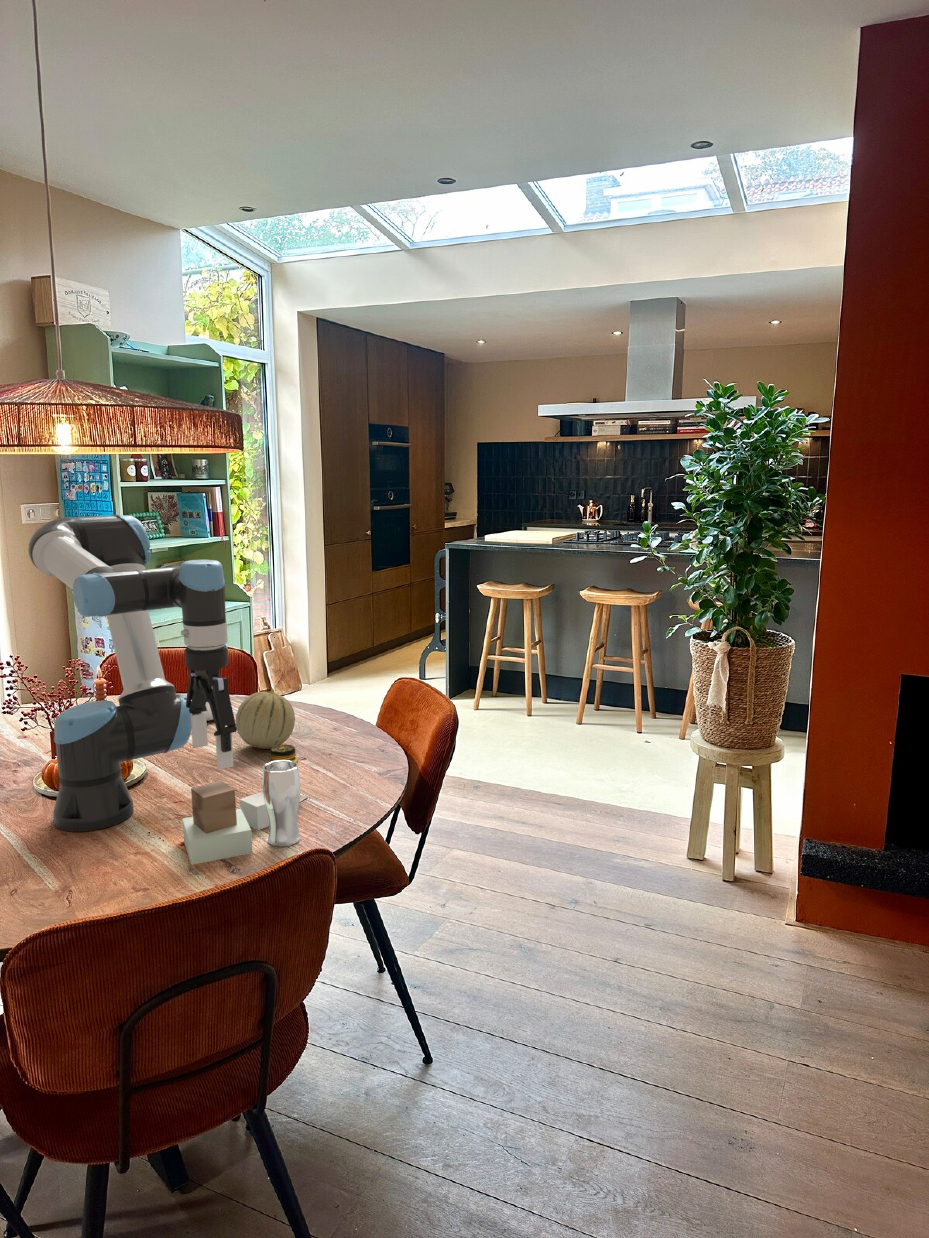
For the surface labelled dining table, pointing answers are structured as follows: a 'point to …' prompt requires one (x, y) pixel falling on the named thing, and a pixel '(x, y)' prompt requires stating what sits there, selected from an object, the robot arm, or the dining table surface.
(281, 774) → the beer glass
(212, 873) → the dining table surface
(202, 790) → the walnut block
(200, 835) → the pedestal block
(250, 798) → the grey block
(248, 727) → the cantaloupe
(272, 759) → the condiment
